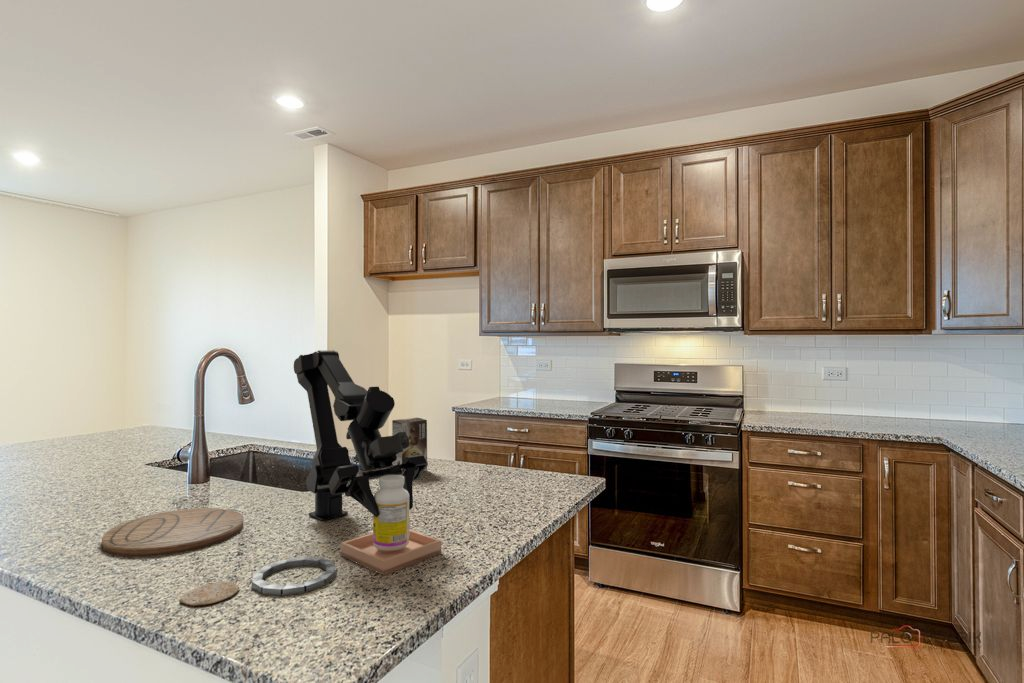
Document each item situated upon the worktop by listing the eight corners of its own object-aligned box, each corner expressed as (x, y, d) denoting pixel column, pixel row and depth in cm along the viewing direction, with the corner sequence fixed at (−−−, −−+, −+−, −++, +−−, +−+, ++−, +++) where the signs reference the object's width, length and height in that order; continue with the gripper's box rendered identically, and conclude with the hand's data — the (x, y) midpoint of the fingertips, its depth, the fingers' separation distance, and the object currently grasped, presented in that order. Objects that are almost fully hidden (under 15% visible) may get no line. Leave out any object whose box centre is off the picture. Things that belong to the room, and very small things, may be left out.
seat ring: (238, 579, 92) (238, 573, 92) (310, 556, 102) (310, 551, 102) (276, 603, 84) (276, 596, 84) (350, 576, 94) (350, 570, 94)
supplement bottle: (381, 538, 107) (381, 472, 107) (413, 540, 106) (414, 474, 106) (367, 551, 100) (368, 480, 100) (401, 553, 100) (402, 482, 100)
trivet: (248, 511, 130) (248, 503, 130) (236, 548, 107) (237, 538, 107) (123, 523, 121) (123, 514, 121) (81, 566, 98) (81, 555, 98)
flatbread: (227, 581, 92) (227, 575, 92) (246, 595, 87) (246, 589, 87) (172, 598, 86) (172, 592, 86) (189, 614, 81) (189, 607, 81)
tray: (340, 555, 102) (340, 542, 102) (397, 536, 112) (397, 525, 112) (384, 575, 94) (384, 561, 94) (441, 553, 104) (441, 540, 104)
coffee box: (417, 467, 175) (417, 417, 175) (427, 471, 170) (428, 419, 170) (391, 471, 169) (391, 419, 169) (401, 475, 164) (401, 422, 164)
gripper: (335, 423, 100) (361, 497, 92) (423, 414, 112) (453, 479, 104) (318, 458, 106) (341, 531, 98) (404, 447, 118) (431, 510, 110)
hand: (394, 511), depth 102 cm, fingers closed on supplement bottle, 6 cm apart
